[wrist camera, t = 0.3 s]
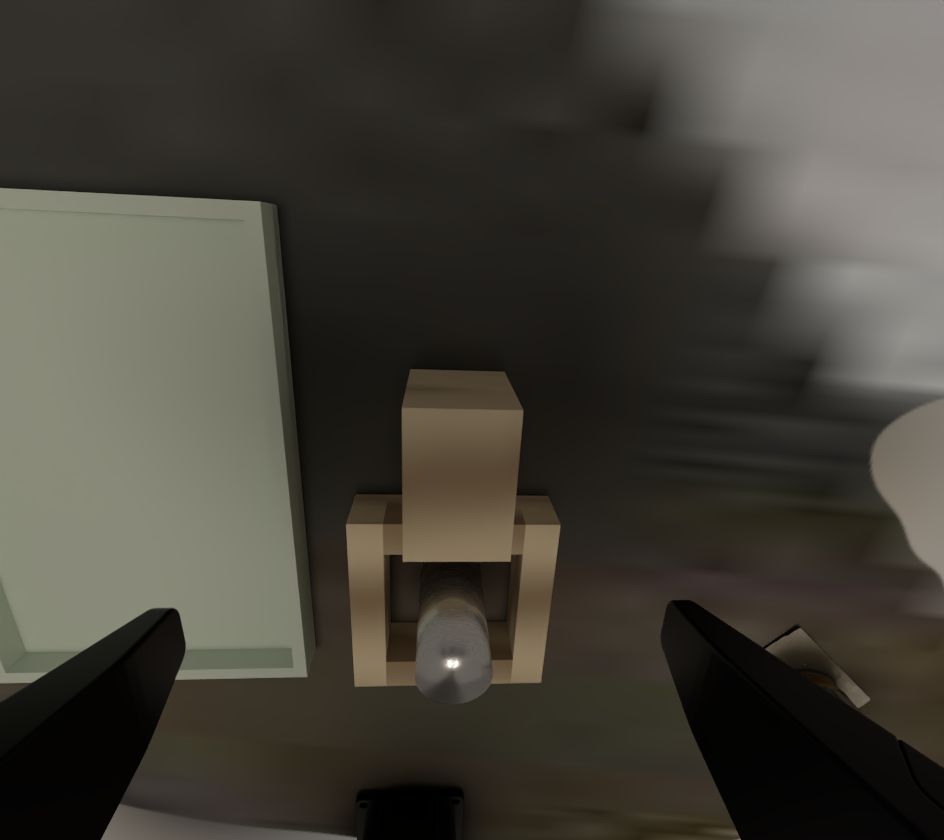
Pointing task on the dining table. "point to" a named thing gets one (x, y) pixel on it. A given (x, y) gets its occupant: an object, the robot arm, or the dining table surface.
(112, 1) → the dining table surface
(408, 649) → the wooden block frame
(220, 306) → the tray
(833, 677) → the condiment
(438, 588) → the cylinder
